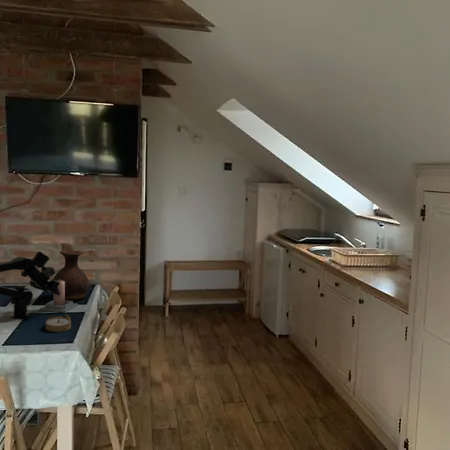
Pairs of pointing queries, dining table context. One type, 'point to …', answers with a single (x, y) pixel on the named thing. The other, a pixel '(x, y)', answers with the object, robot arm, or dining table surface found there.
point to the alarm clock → (58, 323)
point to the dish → (59, 307)
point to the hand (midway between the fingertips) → (54, 293)
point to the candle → (61, 298)
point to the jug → (72, 274)
